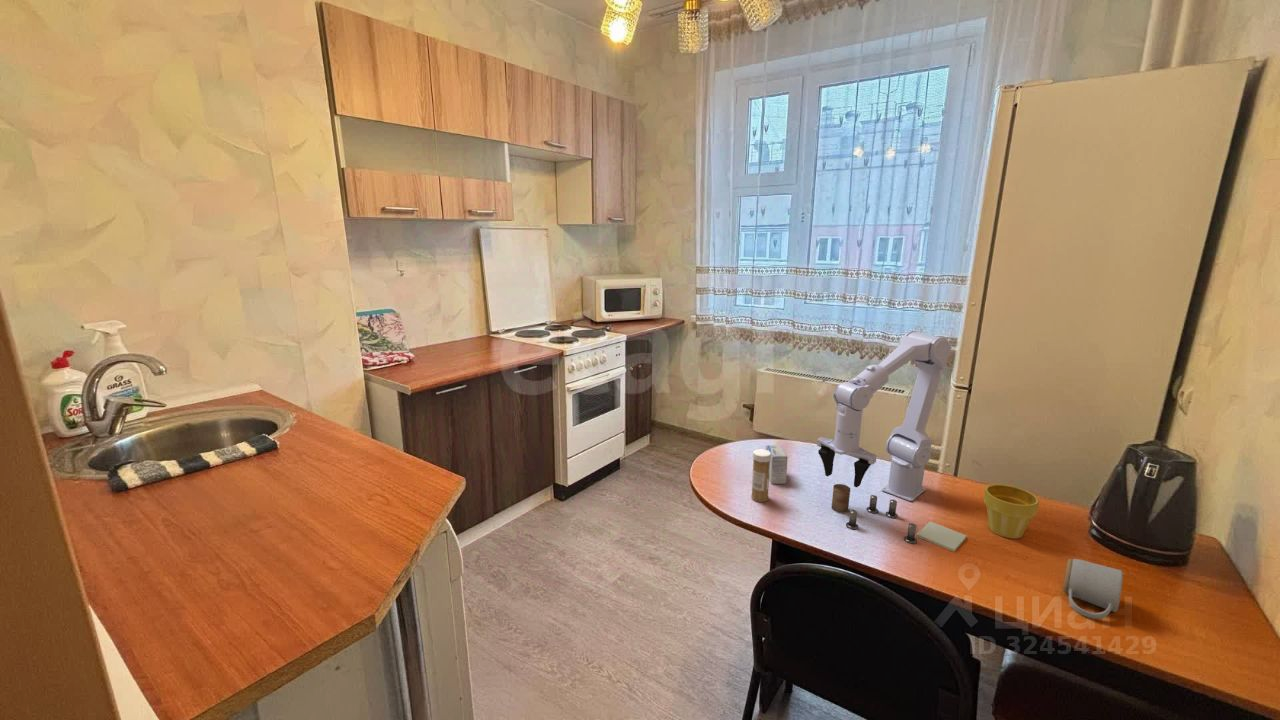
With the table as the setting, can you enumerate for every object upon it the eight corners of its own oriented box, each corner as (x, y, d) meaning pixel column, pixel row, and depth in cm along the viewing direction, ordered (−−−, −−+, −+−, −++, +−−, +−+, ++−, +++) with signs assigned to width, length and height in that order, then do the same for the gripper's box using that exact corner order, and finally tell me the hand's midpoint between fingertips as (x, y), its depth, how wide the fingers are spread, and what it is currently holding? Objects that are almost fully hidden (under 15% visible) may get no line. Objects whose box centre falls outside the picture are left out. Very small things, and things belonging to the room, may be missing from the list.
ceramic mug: (1062, 580, 104) (1070, 547, 102) (1116, 598, 99) (1125, 564, 97) (1058, 608, 97) (1066, 574, 95) (1116, 630, 91) (1126, 594, 89)
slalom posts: (872, 504, 133) (873, 490, 132) (931, 528, 122) (934, 513, 121) (843, 526, 124) (845, 511, 123) (905, 553, 113) (908, 537, 112)
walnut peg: (836, 503, 134) (838, 482, 132) (851, 509, 131) (853, 488, 129) (828, 508, 131) (830, 487, 130) (843, 514, 128) (845, 493, 127)
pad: (929, 523, 124) (930, 521, 124) (966, 537, 119) (966, 535, 118) (916, 536, 119) (916, 534, 119) (954, 551, 113) (954, 549, 113)
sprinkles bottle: (771, 499, 136) (774, 453, 133) (759, 504, 134) (762, 457, 130) (759, 492, 140) (761, 447, 136) (747, 497, 137) (749, 451, 134)
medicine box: (786, 484, 144) (788, 456, 142) (770, 484, 144) (772, 456, 142) (779, 471, 152) (781, 444, 149) (764, 471, 152) (765, 444, 149)
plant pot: (968, 520, 126) (974, 484, 123) (1007, 517, 127) (1014, 482, 124) (1001, 545, 116) (1008, 506, 113) (1043, 542, 117) (1051, 504, 114)
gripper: (812, 426, 128) (808, 475, 132) (869, 443, 118) (862, 496, 121) (827, 419, 133) (822, 466, 136) (882, 435, 122) (876, 486, 126)
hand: (842, 480), depth 129 cm, fingers open, 7 cm apart
